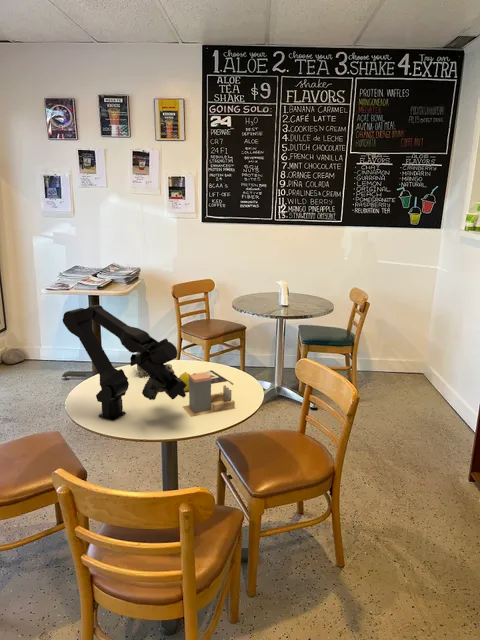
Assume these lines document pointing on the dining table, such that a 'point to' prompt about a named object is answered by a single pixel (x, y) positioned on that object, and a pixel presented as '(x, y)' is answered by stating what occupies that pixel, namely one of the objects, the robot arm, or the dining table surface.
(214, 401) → the wooden stand
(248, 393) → the dining table surface
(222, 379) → the chocolate bar
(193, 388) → the plug block
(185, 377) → the lemon
